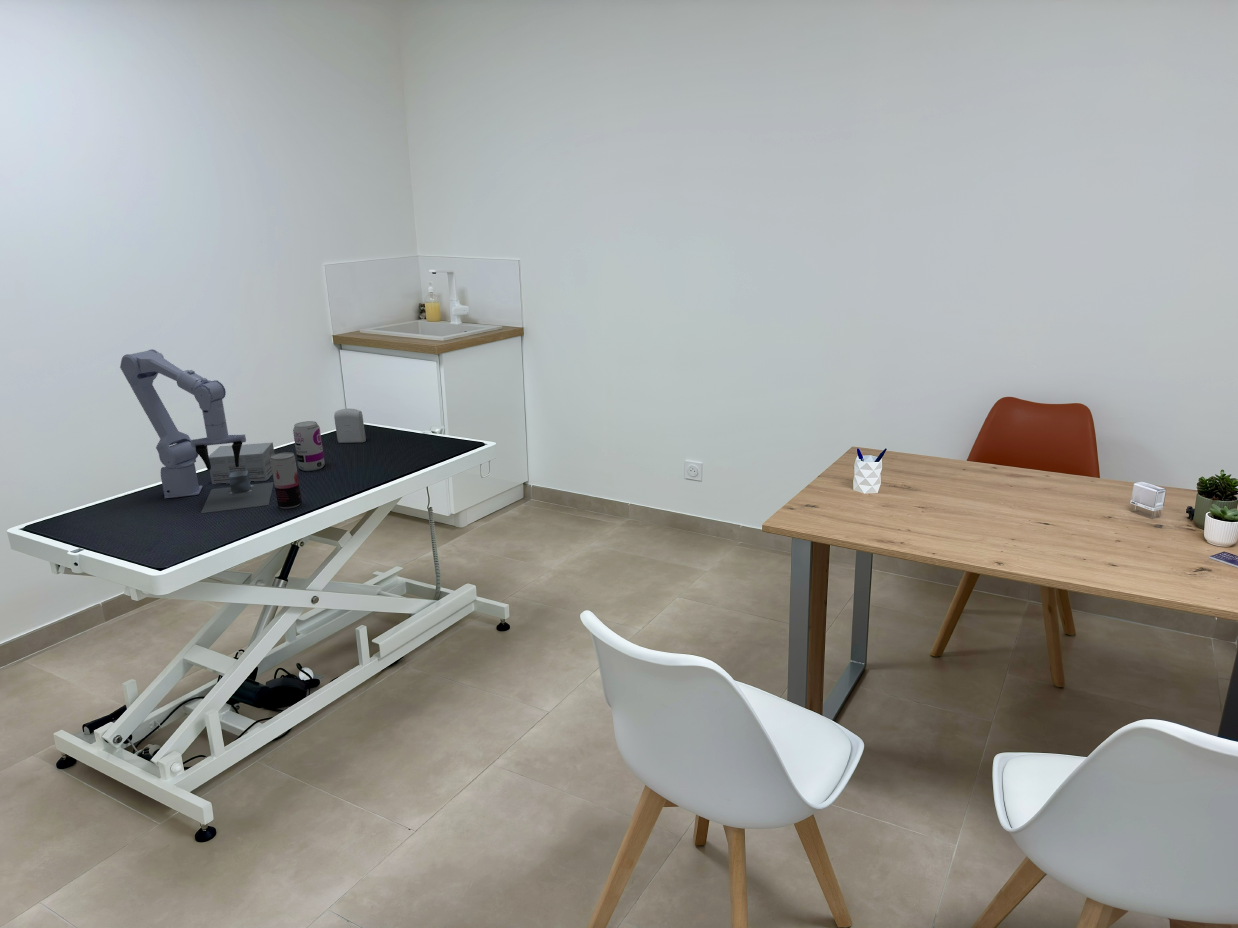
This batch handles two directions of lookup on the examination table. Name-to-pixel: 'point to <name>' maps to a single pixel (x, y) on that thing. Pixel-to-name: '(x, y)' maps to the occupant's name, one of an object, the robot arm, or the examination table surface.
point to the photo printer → (349, 426)
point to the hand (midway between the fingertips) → (223, 467)
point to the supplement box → (242, 462)
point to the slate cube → (239, 481)
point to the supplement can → (308, 446)
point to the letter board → (238, 498)
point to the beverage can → (286, 480)
